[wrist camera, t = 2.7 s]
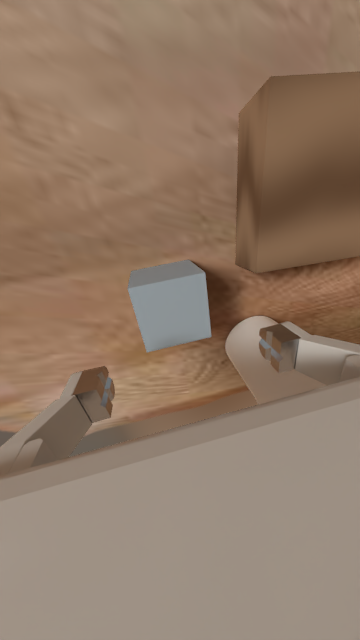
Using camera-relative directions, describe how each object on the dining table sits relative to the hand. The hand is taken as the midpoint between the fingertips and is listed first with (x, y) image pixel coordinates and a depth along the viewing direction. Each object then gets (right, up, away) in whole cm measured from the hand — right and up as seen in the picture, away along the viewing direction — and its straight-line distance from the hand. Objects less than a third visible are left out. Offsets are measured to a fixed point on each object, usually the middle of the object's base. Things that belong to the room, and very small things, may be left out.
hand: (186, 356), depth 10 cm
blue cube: (-2, +4, +8) cm, 9 cm away
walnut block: (+9, +12, +6) cm, 16 cm away
